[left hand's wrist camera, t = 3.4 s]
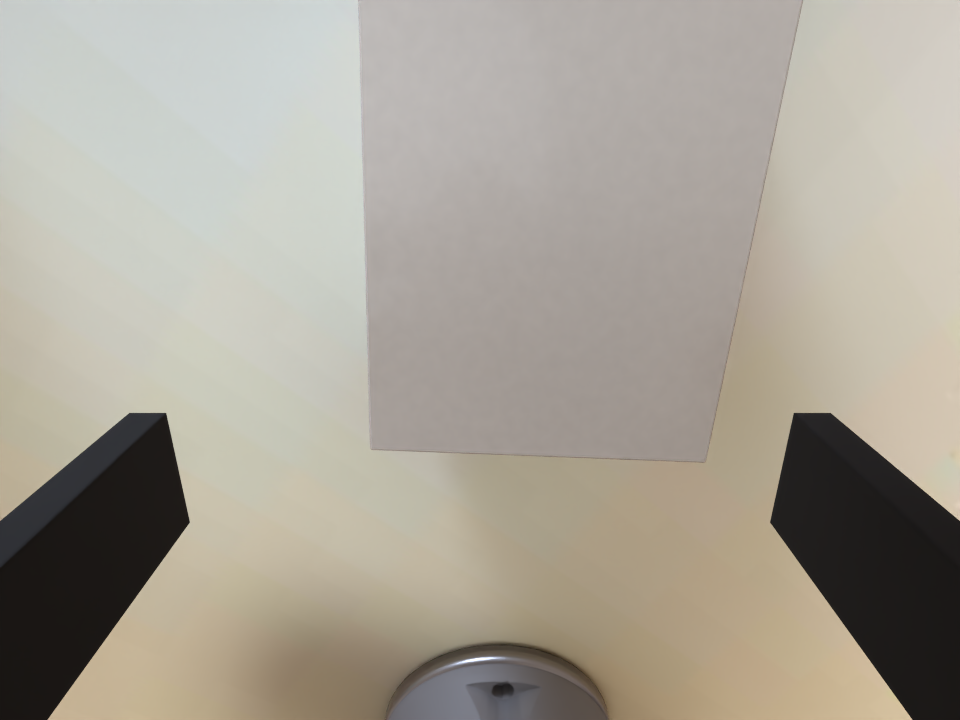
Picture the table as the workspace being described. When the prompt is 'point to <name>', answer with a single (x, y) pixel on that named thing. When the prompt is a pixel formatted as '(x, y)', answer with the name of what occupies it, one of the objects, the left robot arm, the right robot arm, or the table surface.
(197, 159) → the table surface
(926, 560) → the left robot arm
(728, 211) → the cabinet
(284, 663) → the table surface
